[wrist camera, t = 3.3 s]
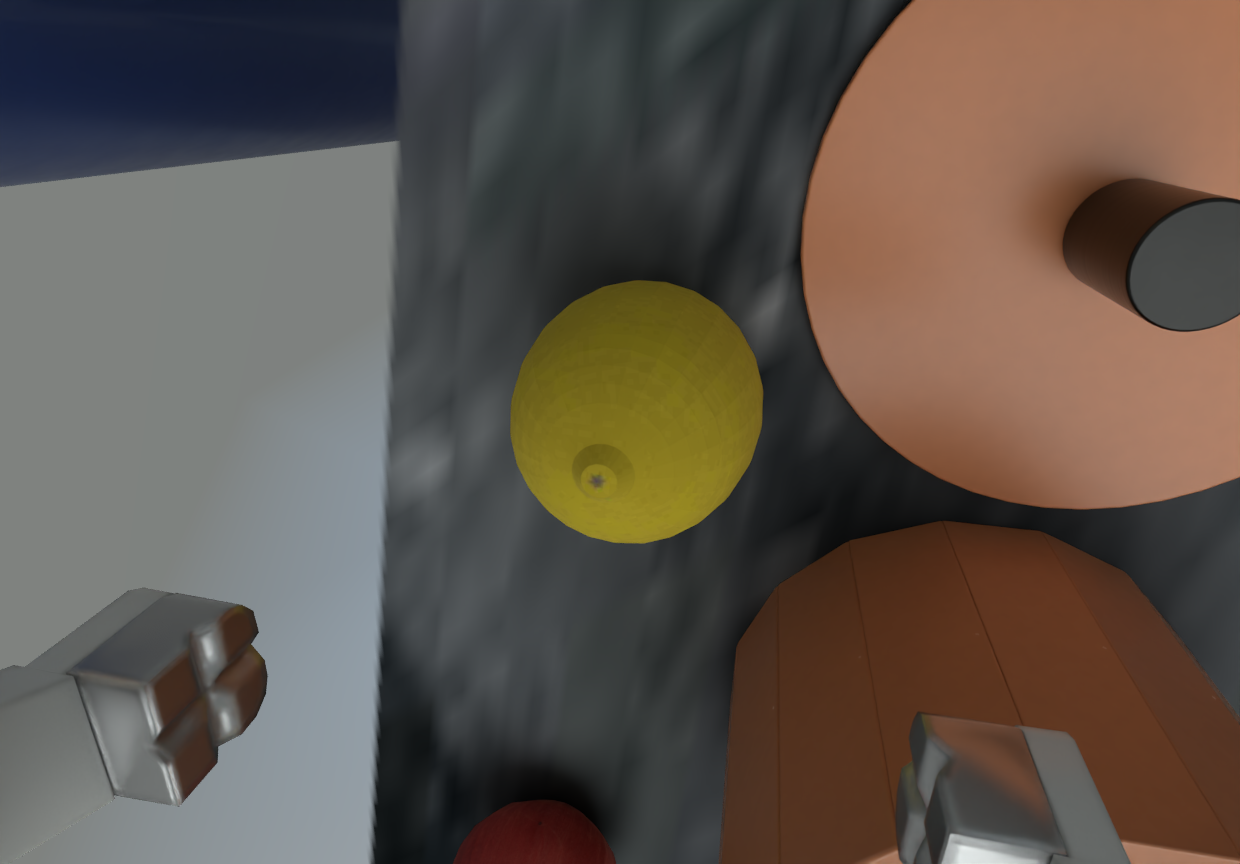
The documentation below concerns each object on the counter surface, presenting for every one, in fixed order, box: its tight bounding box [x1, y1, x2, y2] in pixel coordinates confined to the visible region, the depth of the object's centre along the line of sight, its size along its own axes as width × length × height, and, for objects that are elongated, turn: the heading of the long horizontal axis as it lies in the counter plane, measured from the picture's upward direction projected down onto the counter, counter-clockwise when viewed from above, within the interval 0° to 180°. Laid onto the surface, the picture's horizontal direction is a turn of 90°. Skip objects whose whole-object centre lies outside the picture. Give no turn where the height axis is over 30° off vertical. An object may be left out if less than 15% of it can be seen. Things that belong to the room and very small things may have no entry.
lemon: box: [510, 280, 763, 543], centre depth 17 cm, size 6×6×8 cm
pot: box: [719, 521, 1240, 864], centre depth 19 cm, size 13×13×10 cm
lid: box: [800, 0, 1240, 510], centre depth 16 cm, size 14×14×5 cm
